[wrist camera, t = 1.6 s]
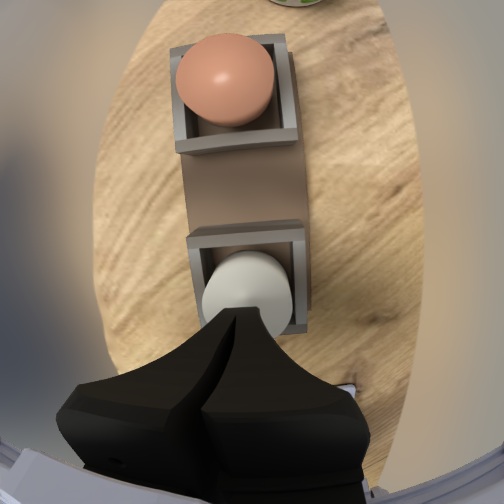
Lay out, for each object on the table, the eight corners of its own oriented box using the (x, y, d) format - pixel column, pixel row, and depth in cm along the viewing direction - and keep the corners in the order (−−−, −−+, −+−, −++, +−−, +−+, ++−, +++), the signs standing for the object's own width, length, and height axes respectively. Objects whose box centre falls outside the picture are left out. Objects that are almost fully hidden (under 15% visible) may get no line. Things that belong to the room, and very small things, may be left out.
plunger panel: (308, 302, 19) (317, 333, 15) (206, 308, 19) (193, 339, 16) (290, 59, 15) (296, 31, 11) (180, 72, 15) (158, 50, 11)
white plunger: (290, 318, 15) (293, 342, 13) (217, 322, 15) (209, 346, 13) (286, 246, 14) (290, 261, 12) (206, 252, 14) (195, 268, 12)
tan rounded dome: (276, 123, 12) (278, 113, 10) (193, 132, 13) (178, 125, 10) (268, 50, 11) (268, 29, 9) (188, 60, 12) (174, 42, 9)
